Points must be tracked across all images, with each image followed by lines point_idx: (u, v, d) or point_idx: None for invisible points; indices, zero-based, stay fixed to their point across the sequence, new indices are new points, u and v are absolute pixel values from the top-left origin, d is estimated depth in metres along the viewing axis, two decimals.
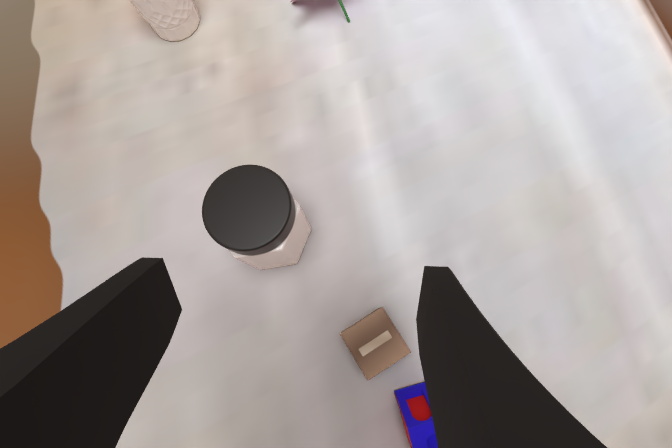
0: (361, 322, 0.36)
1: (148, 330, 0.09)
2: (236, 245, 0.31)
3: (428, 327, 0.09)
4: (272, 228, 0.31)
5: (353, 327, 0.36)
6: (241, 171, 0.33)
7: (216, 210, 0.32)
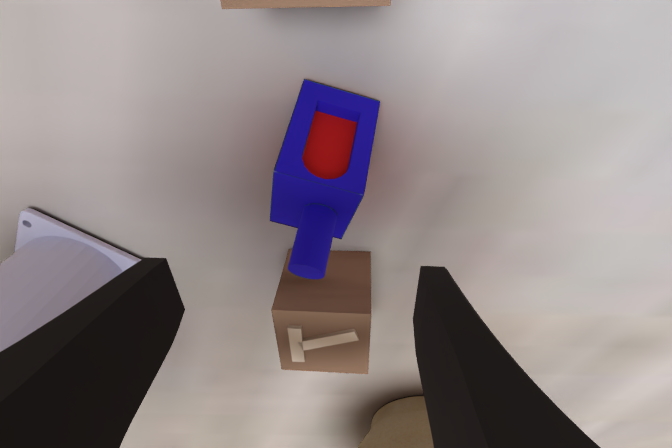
0: None
1: (152, 330, 0.09)
2: None
3: (424, 327, 0.09)
4: None
5: None
6: None
7: None
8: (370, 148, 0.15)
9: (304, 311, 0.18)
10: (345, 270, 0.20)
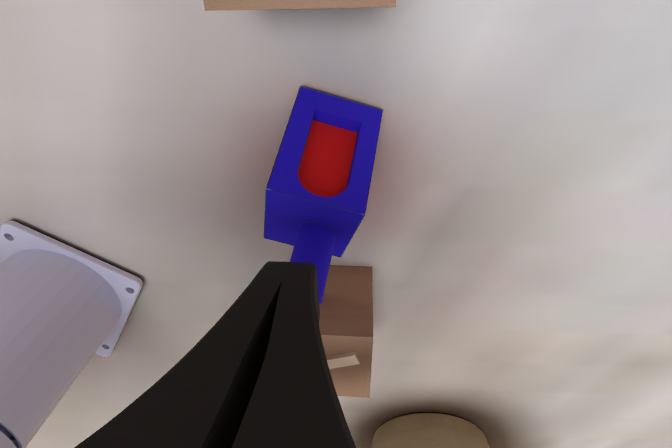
0: None
1: None
2: None
3: None
4: None
5: None
6: None
7: None
8: (372, 162, 0.14)
9: None
10: (345, 287, 0.19)
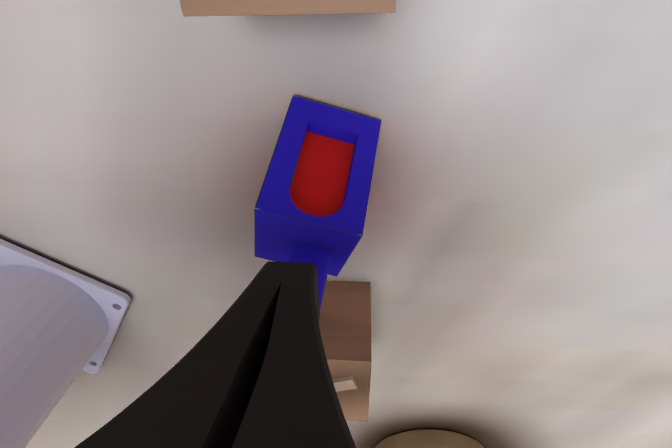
0: None
1: None
2: None
3: None
4: None
5: None
6: None
7: None
8: (370, 177, 0.13)
9: None
10: (342, 305, 0.18)
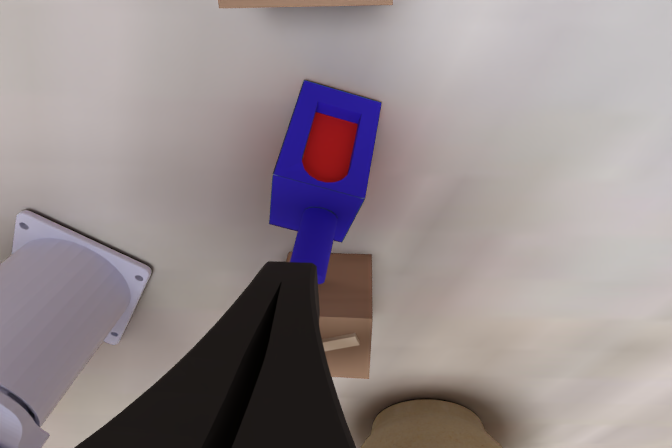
0: None
1: None
2: None
3: None
4: None
5: None
6: None
7: None
8: (371, 150, 0.15)
9: None
10: (345, 273, 0.20)
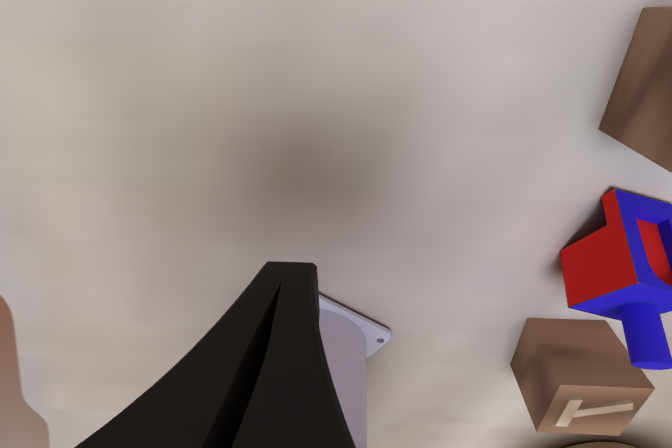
0: None
1: None
2: None
3: None
4: None
5: None
6: None
7: None
8: None
9: (592, 385, 0.20)
10: (596, 341, 0.23)
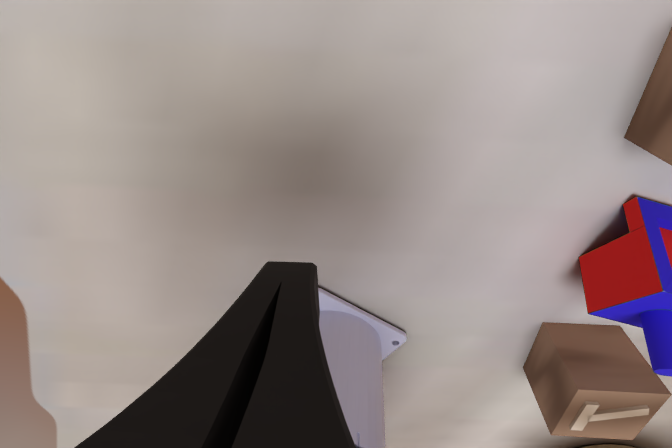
0: None
1: None
2: None
3: None
4: None
5: None
6: None
7: None
8: None
9: (609, 390, 0.20)
10: (612, 346, 0.23)
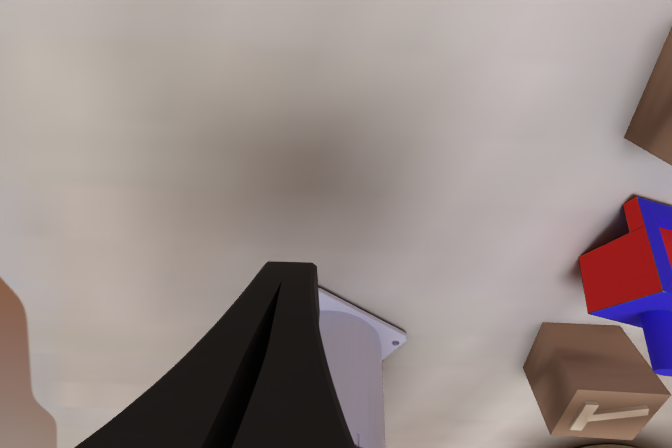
0: None
1: None
2: None
3: None
4: None
5: None
6: None
7: None
8: None
9: (609, 391, 0.20)
10: (612, 346, 0.23)
